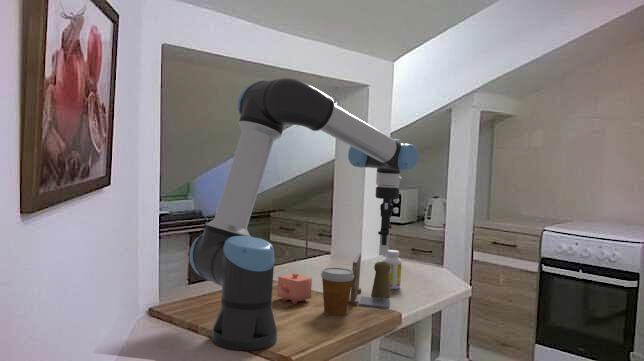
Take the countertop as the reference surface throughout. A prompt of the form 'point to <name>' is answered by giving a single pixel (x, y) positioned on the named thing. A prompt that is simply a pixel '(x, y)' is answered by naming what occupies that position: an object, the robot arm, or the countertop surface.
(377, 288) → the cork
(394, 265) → the supplement bottle
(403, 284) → the countertop surface
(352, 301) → the screen
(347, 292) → the disposable coffee cup
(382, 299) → the coaster
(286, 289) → the pink cube teapot
